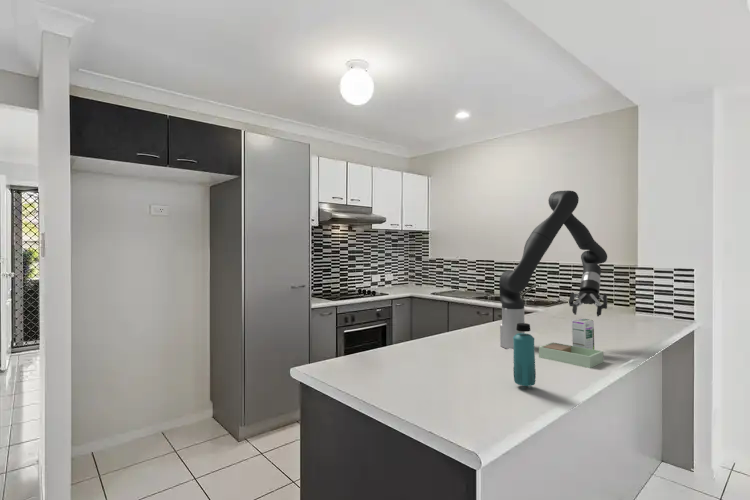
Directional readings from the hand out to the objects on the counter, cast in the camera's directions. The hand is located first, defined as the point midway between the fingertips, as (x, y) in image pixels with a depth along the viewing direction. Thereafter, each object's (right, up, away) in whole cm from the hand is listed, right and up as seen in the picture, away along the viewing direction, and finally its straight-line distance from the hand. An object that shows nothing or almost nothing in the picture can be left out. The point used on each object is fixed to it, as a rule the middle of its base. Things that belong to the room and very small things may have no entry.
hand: (586, 314), depth 170 cm
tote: (-13, -16, -14) cm, 25 cm away
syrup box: (-5, -16, -7) cm, 18 cm away
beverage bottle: (-41, -16, -42) cm, 61 cm away
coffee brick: (-16, -15, -10) cm, 24 cm away
